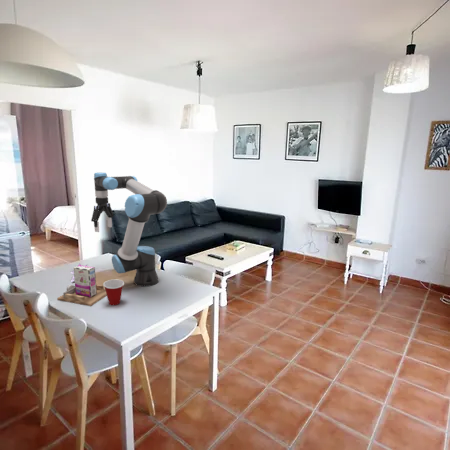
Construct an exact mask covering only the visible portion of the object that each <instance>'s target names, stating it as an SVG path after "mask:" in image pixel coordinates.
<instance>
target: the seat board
mask: <svg viewBox="0 0 450 450" xmlns="http://www.w3.org/2000/svg"><path fill="white" fill-rule="evenodd" d="M96 292H97V294H96V295H94V296H93V297H87V296H82V295H77V294H76V291H75V285H71V284H69V285H67V286H66V291H64V292H63V293H62V295H60V296H59V297H57V299H56V300H57V301H61V302H67V303H71V304H77V305H83V306H88V307H92V306H93V305H94V304H96V303H98V302H100V301H101V300H103V299H105V298H107V294H106V290H105V287H104V285H103V284H97V283H96Z"/></svg>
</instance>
